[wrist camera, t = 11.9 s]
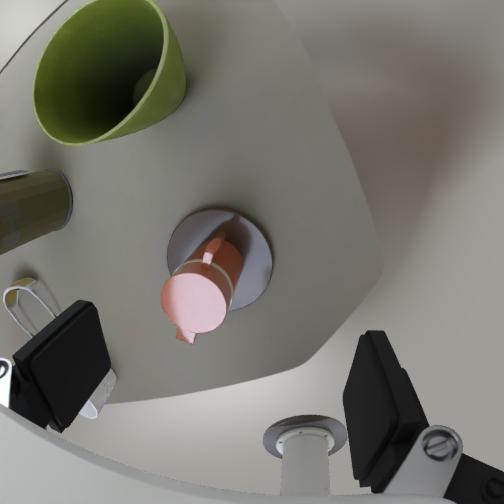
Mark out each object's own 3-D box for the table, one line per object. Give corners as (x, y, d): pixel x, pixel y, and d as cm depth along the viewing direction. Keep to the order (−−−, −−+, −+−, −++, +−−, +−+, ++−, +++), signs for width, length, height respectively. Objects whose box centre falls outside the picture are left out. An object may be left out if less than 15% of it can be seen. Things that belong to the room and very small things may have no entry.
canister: (72, 236, 41) (-21, 284, 22) (33, 224, 41) (-52, 262, 22) (75, 169, 37) (-30, 190, 18) (34, 163, 37) (-59, 183, 18)
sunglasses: (30, 263, 43) (15, 275, 39) (78, 322, 49) (66, 338, 44) (8, 291, 47) (-4, 303, 43) (49, 341, 52) (39, 355, 48)
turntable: (284, 295, 39) (284, 300, 38) (191, 313, 42) (188, 318, 41) (256, 194, 36) (254, 195, 34) (156, 224, 38) (152, 226, 37)
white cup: (81, 356, 49) (55, 385, 40) (108, 357, 48) (83, 390, 38) (98, 385, 51) (76, 415, 42) (125, 387, 50) (104, 421, 41)
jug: (203, 215, 36) (170, 240, 25) (256, 232, 36) (243, 265, 25) (184, 287, 39) (153, 331, 29) (232, 304, 39) (214, 354, 29)
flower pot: (177, 23, 29) (121, -32, 14) (238, 97, 32) (204, 57, 17) (97, 92, 33) (18, 77, 18) (147, 168, 36) (69, 181, 21)
